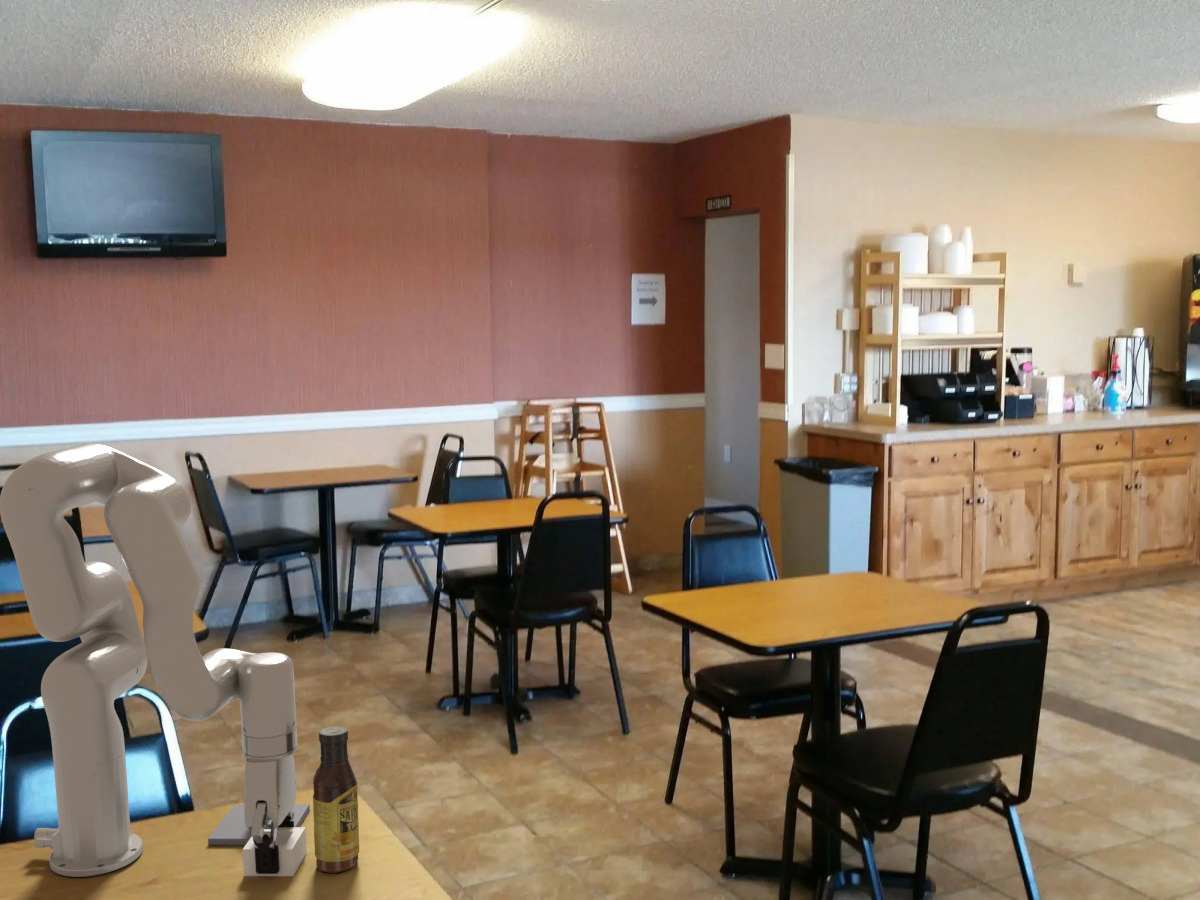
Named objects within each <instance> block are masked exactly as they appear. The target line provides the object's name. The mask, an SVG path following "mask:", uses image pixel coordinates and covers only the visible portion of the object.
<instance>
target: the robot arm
mask: <svg viewBox="0 0 1200 900" xmlns="http://www.w3.org/2000/svg"><path fill="white" fill-rule="evenodd" d="M191 501H192V500H191V498H190V495H189V492H188V491H187V489H186V488H185V486H183V484H182V483H180V482H179V481H178V480H177V479H175V478H174V477H172V476H170V474H167V473H165V472H163V471H161V470H160V469H157V468H156V467H153V466H152V465H149V464H147V463H145V462H143V461H140V460H138V459H137V458H134V457H132V456H130V455H127V453H124V452H122V451H121V450H117V449H115V448H113V447H111V446H108V445H105V444H99V443H84V444H81V445H75V446H71V447H67V448H66V447H65V448H61V449H57V450H52V451H50V452H46V453H42V454H39V455H36V456H35V457H32V458H30V459H28V460H27V461H25V462H24V463H22V464H21V465H19V466H18V467H17V468H15V469H14V471H12V472H11V474H10V475H9V476H8V478H7V479H6V481H5V482H4V484H3V486H2V489H1V491H0V519H1V523H2V527H3V529H4V531H5V534H6V537H7V539H8V541H9V543H10V547H11V549H12V553H13V555H14V559H15V563H16V566H17V570H18V575H19V578H20V582H21V585H22V589H23V592H24V596H25V600H26V603H27V607H28V610H29V614H30V616H31V620H32V622H33V625H34V627H35V630H36V631H37V632H38V634H39V636H41V637H42V638H44V639H46V640H48V641H50V642H56V643H58V642H59V643H61V642H62V643H63V642H68V641H71V640H74V639H76V638H78V637H79V638H80V640H81V641H80V642H81V643H79V644H77V645H76V646H75V645H74V647H72V648H70V649H68V650H66V651H65V652H63V653H62V654H60V655H59V656H57V657H56V658H55V659H54V660H53V661H52V662H51V663H50V664H49V665H48V667H47V668H46V669H45V672H44V674H43V675H42V679H41V681H40V682H41V684H40V693H41V694H40V695H41V700H42V703H43V707H44V710H45V713H46V716H47V721H48V727H49V732H50V738H51V747H52V748H51V749H52V762H53V769H54V770H53V772H54V784H55V795H56V797H55V798H56V811H57V824H58V826H57V828H51V827H37V828H36V829H35V832H34V847H35V848H37V849H38V848H39V849H40V848H43V849H44V848H50V849H51V850H52V852H51V854H50V855H49V858H48V861H49V868H50V869H51V870H52V871H53V872H54V873H56V874H58V875H59V876H60V875H61V876H65V877H72V878H83V877H84V878H85V877H93V876H99V875H103V874H107V873H111V872H113V871H117V870H120V869H122V868H123V867H124V868H125V867H126V866H127V865H130V864H131V863H133V862H134V861H135V860H137V859H139V857H140V856H141V854H142V853H143V849H144V846H143V845H144V844H143V840H142V838H141V837H140V836H139V835H137V834H136V833H133V832H132V831H131V819H130V806H129V805H130V804H129V790H128V775H127V773H128V772H127V759H126V749H125V748H126V747H125V736H124V730H123V726H122V724H121V720H120V718H119V716H118V714H117V711H116V709H115V704H114V703H115V700H116V699H119V697H121V696H122V695H124V694H125V693H127V692H128V691H129V690H131V689H132V688H133V687H135V686H136V685H137V684H139V682H140V681H141V680H142V679H143V677H144V675H145V672H146V670H147V667H148V666H149V669H150V672H151V674H152V676H153V677H154V680H155V682H156V684H157V686H158V688H159V690H160V692H161V694H162V696H163V698H164V699H165V701H166V703H167V704H168V706H169V707H170V709H171V710H172V711H173V712H174V713H175V714H176V715H178V716H179V717H181V718H182V719H185V720H187V721H191V722H201V721H204V720H208V719H210V718H211V717H213V716H215V714H217V713H218V712H220V711H221V710H222V709H224V708H225V707H226V706H228V704H230V703H233V702H234V701H237V700H239V709H240V710H239V711H240V724H241V725H240V726H241V728H240V729H241V741H242V742H241V744H242V746H241V747H242V756H243V757H244V758H246V760H245V767H244V780H243V781H244V782H243V783H244V785H243V790H244V791H243V795H244V797H243V798H244V799H243V800H244V801H243V803H244V821H245V826H246V827H247V828H250V827H252V826H253V827H252V832H251V835H252V837H253V841H254V848H255V864H256V873H258V874H277V873H278V872H279V870H280V868H279V849H278V845H276V834H277V827H294V821H290V820H293V819H294V811H293V808H292V807H293V805H294V804H295V803H296V799H297V780H296V779H297V778H296V776H297V775H296V765H295V756H294V755H295V753H296V752H297V750H298V748H299V747H298V732H297V731H298V730H297V708H296V690H295V689H296V688H295V671H294V669H295V668H294V664H293V660H292V659H291V657H290V656H288V655H287V654H284V653H282V652H274V651H273V652H271V651H270V652H268V651H267V652H261V653H254V652H248V651H243V650H239V649H234V648H227V647H222V648H216V649H213V650H211V651H209V652H207V653H205V654H204V655H203V656H202V654H201V652H200V649H199V645H197V640H196V637H195V631H194V614H195V613H194V612H195V611H194V610H195V607H196V602H197V600H198V596H199V594H200V590H201V585H202V575H201V572H200V570H199V568H198V566H197V564H196V562H195V560H194V557H193V556H192V554H191V551H190V549H189V547H188V544H187V542H186V540H185V538H184V536H183V534H182V532H181V530H180V527H182V526H183V525H184V524H185V523H186V522H187V521H188V519H189V517H190V515H191V511H192V502H191ZM94 502H95V503H99V504H102V505H104V508H103V519H104V522H105V525H106V527H107V529H108V531H109V535H110V536H111V539H112V541H113V542H114V545H115V547H116V549H117V551H118V553H119V555H120V557H121V559H122V562H123V563H124V565H125V568H126V570H127V572H128V575H129V577H130V578H131V581H132V582H133V584H134V587H135V589H136V591H137V593H138V595H139V598H140V600H141V603H142V627H141V625H140V620H139V617H138V614H137V610H136V609H137V608H136V606H135V605H136V604H135V602H134V599H133V596H132V595H133V594H132V593H131V592H132V591H131V589H130V586H129V585H128V582H127V581H126V579H125V577H124V576H123V575H122V574H121V572H120V571H118V569H116V568H115V567H114V566H112V565H110V564H108V563H106V562H102V561H97V560H96V561H85V559H84V555H83V552H82V548H81V544H80V541H79V539H78V536H77V534H76V532H75V531H74V529H73V528H72V526H71V525H70V524H69V523H68V521H67V520H66V518H64V516H65V514H66V513H67V512H68V511H70V510H74V509H76V508H79V507H83V506H85V505H89V504H92V503H94ZM142 628H143V632H142ZM265 820H273V821H272V822H271V824H265ZM264 829H271V833H270V837H269V836H268V835H267V834H264V833H265V832H264Z"/></svg>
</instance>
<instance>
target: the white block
mask: <svg viewBox="0 0 1200 900" xmlns="http://www.w3.org/2000/svg"><path fill="white" fill-rule="evenodd" d="M264 832H265V833H264V834H267V835H268V836H269V837H270V833H271V829H264ZM276 845H278V849H279V868H280V870H279V872H278V873H277V874H258V873H256V864H255V848H254V841H253V837H251V838H250V840H249V841H248V842H247V844H246V845H244V847H243V848H242V862H243V863H242V864H243V865H242V866H243V876H244V877H294V876H295V874H296V873H297V870H298V869H299V867H300V865H301V863H302V862H303V860H304V858H305V857H306V855H307V854H308V853H307V852H308V849H307V848H308V847H307V828H306V827H305V826H300V827H277V834H276Z"/></svg>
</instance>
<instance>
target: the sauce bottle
mask: <svg viewBox="0 0 1200 900" xmlns="http://www.w3.org/2000/svg"><path fill="white" fill-rule="evenodd" d="M348 739H349V731H348V728H346V727H344V726H338V725H337V726H335V725H334V726H329V727H325V728H322V729H321V730H320V731H318V741H319V744H320V764H319V766H318V768H317V769H316V770H315V774H314V775H313V782H312V784H313V785H312V787H313V794H312V806H313V807H312V808H313V811H312V812H313V838H314V839H313V840H314V856H315V858H316V860H315V861H316V867H317V869H318V870H319V871H322V872H325V873H331V874H332V873H333V874H336V873H337V874H338V873H341V872H346V871H348V870H350V869H352V868H355V866H357V864H358V862H359V853H360V830H359V828H360V827H359V799H358V797H359V793H358V789H359V788H358V782H357V781H358V780H357V778H356V776H355V775H356V774H355V773H354V771H353V769H352V766H351V763H350V760H349V754H348Z"/></svg>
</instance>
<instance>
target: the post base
mask: <svg viewBox="0 0 1200 900" xmlns="http://www.w3.org/2000/svg"><path fill="white" fill-rule="evenodd" d="M234 805H236V806H234ZM234 805H233V806H232V807H231V808H230V810H229V811H228V812H227V814H226V815H225V816H224V817H223V819H222V820H221V821H220V823H219V824H218V825H217V826H216V828H215V829H214V830H213V831H212V833H211V834H210V835H209V836H208V838H207V845H208V846H245V845H246V844H247V842H248V841H249V840H250V838H251V837H252V835H251V832H252V827H253V826H252V827H250V828H247V827H246V826H245V821H244V804H243V803H242V804H241V805H239V803H235V804H234ZM310 806H311V805H310V803H307V804H305V803H303V804H302V803H297V804H295V803H294V805H293V807H292V808H293V811H294V819H293V820H290V821H294V827H301V825H302V824H303V822H304V820H305V819H306V817H307V816H308V814H309V812H310V811H311V808H310ZM272 821H273V820H265V824H271V822H272Z"/></svg>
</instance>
